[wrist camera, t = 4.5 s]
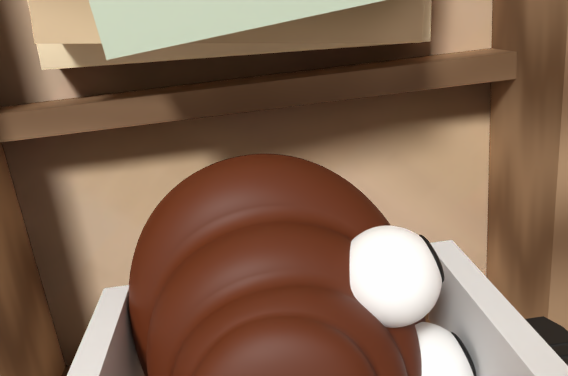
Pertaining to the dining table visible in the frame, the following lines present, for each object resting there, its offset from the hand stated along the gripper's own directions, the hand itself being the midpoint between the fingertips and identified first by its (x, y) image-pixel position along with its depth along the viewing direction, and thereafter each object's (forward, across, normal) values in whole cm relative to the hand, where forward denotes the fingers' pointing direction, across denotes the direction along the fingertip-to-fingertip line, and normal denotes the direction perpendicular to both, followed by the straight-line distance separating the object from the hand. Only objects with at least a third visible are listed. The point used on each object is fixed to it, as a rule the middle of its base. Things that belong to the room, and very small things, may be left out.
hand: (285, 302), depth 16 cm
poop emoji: (+1, 0, 0) cm, 1 cm away
